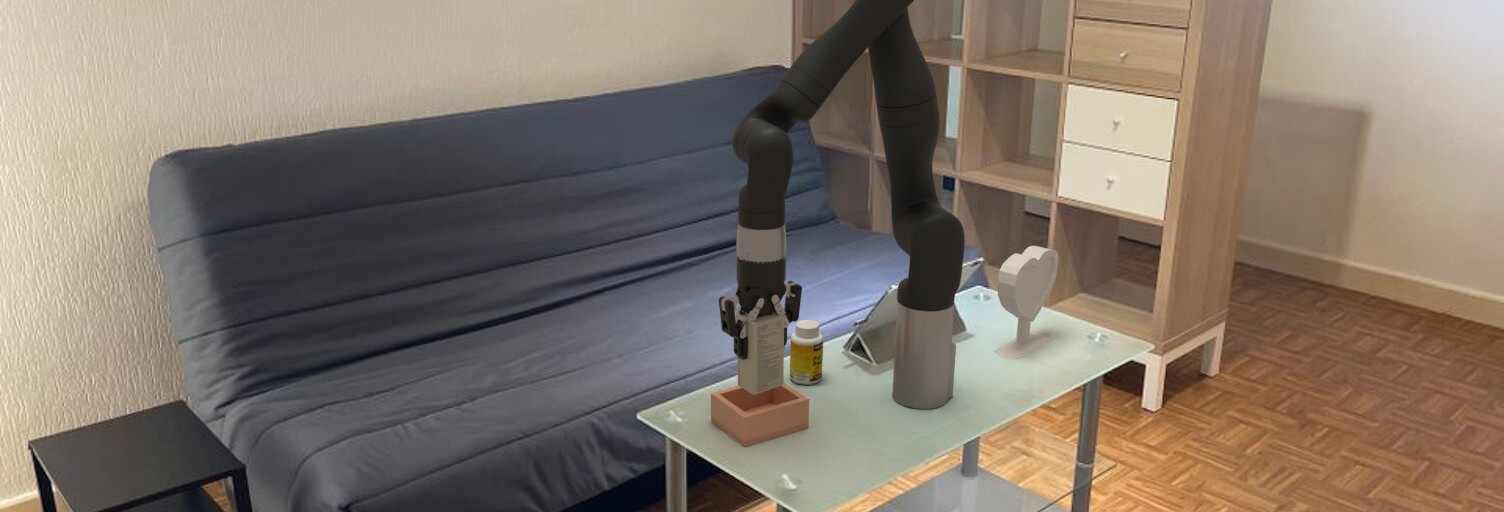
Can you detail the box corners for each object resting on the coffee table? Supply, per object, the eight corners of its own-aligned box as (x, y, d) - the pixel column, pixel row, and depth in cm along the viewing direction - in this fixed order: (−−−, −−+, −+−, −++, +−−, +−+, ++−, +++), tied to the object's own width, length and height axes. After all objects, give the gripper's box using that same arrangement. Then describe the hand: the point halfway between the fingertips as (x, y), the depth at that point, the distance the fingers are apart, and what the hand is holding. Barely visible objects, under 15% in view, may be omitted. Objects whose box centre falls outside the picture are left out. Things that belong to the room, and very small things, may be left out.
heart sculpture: (1012, 362, 220) (1020, 266, 214) (988, 354, 223) (995, 260, 217) (1055, 336, 231) (1063, 245, 225) (1031, 329, 234) (1039, 239, 228)
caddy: (773, 403, 204) (773, 376, 202) (808, 427, 196) (809, 399, 195) (710, 421, 198) (710, 393, 196) (744, 447, 190) (744, 417, 188)
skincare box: (767, 376, 198) (768, 305, 194) (784, 385, 195) (786, 314, 191) (735, 386, 195) (735, 314, 191) (753, 396, 191) (753, 323, 187)
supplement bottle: (815, 388, 210) (816, 332, 206) (784, 382, 212) (785, 327, 208) (826, 375, 215) (828, 320, 211) (796, 369, 217) (797, 315, 213)
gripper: (786, 236, 194) (785, 335, 200) (707, 252, 187) (708, 354, 192) (814, 250, 188) (812, 351, 194) (734, 267, 181) (733, 372, 186)
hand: (760, 352), depth 193 cm, fingers closed on skincare box, 6 cm apart
